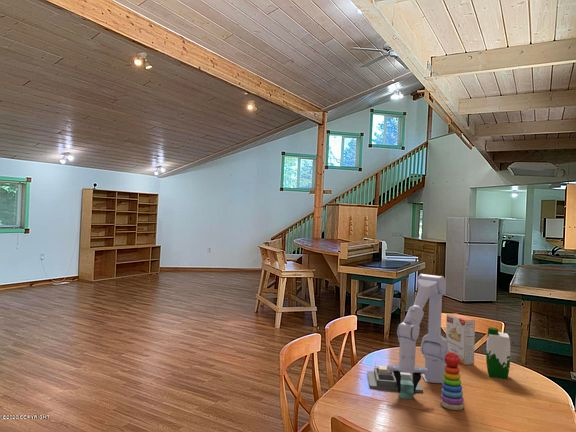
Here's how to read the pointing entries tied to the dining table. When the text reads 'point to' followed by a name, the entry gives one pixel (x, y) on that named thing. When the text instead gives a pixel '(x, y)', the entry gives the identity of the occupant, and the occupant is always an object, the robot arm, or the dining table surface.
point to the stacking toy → (452, 384)
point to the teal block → (406, 389)
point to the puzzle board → (387, 379)
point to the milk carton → (498, 354)
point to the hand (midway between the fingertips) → (406, 392)
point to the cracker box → (461, 337)
